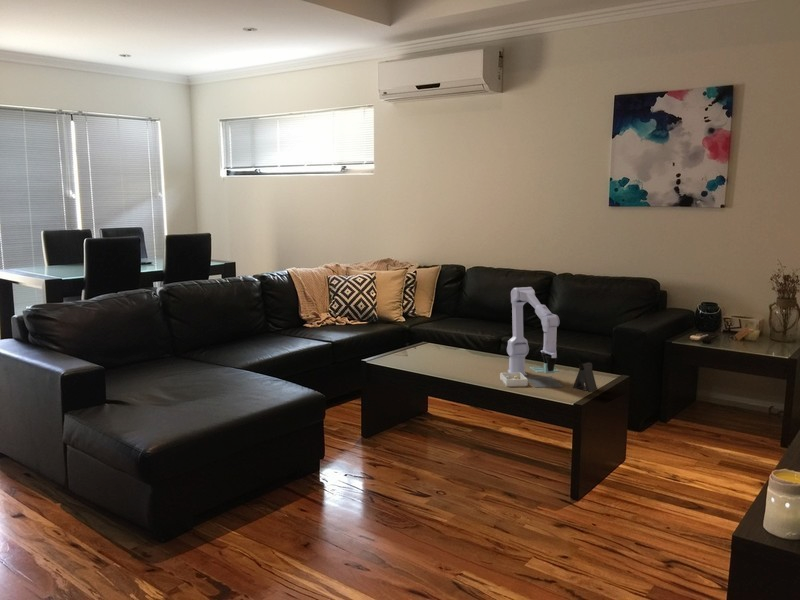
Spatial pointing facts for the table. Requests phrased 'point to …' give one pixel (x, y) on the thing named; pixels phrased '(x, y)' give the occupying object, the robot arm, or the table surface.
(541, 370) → the lid
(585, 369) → the phone stand
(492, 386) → the table surface
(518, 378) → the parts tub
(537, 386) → the mat
